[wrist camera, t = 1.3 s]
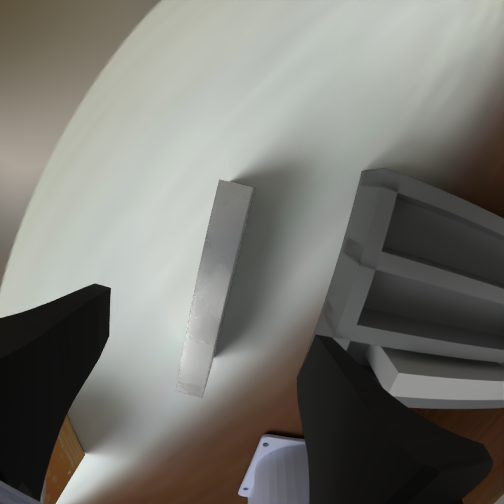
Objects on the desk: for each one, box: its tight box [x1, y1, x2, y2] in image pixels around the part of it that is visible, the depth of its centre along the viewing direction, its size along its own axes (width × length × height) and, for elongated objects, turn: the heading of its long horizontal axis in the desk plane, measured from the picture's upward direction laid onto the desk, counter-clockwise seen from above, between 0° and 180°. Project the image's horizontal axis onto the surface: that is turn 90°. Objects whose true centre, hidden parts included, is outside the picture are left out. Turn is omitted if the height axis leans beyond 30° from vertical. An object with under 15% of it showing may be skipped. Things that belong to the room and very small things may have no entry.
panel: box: [176, 180, 255, 398], centre depth 18 cm, size 12×2×5 cm, turn 166°
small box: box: [40, 415, 85, 504], centre depth 18 cm, size 8×6×13 cm
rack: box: [303, 168, 504, 409], centre depth 18 cm, size 14×20×6 cm, turn 76°
